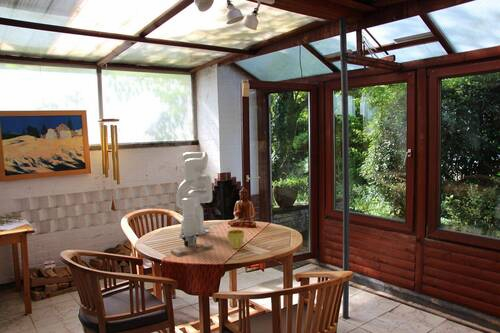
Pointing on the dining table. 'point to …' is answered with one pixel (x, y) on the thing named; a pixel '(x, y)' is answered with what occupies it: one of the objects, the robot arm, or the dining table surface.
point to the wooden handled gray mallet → (192, 241)
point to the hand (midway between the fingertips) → (190, 245)
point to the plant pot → (236, 238)
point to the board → (191, 249)
